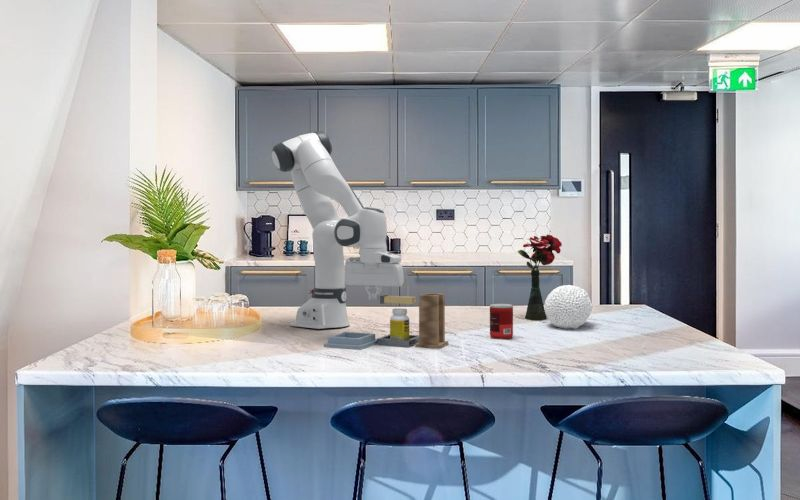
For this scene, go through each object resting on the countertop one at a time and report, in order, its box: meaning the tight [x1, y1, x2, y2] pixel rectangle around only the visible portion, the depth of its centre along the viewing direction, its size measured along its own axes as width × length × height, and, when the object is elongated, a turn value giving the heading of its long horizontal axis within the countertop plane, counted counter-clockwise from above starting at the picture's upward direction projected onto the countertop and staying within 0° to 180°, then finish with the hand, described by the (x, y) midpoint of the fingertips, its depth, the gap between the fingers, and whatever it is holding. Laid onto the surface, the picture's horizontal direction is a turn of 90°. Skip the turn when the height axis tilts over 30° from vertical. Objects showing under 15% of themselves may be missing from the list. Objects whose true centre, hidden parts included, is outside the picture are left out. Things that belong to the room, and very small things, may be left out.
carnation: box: [516, 234, 563, 321], centre depth 242 cm, size 16×18×35 cm
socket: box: [376, 333, 419, 348], centre depth 195 cm, size 11×11×2 cm
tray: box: [323, 331, 377, 351], centre depth 192 cm, size 13×13×3 cm
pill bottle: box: [389, 307, 410, 340], centre depth 194 cm, size 6×6×11 cm
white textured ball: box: [544, 284, 593, 330], centre depth 225 cm, size 20×18×16 cm
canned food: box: [489, 303, 514, 340], centre depth 206 cm, size 8×8×11 cm
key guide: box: [414, 292, 449, 349], centre depth 190 cm, size 8×8×16 cm
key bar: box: [379, 294, 417, 305], centre depth 194 cm, size 11×4×3 cm, turn 67°
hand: (373, 299), depth 198 cm, fingers closed
